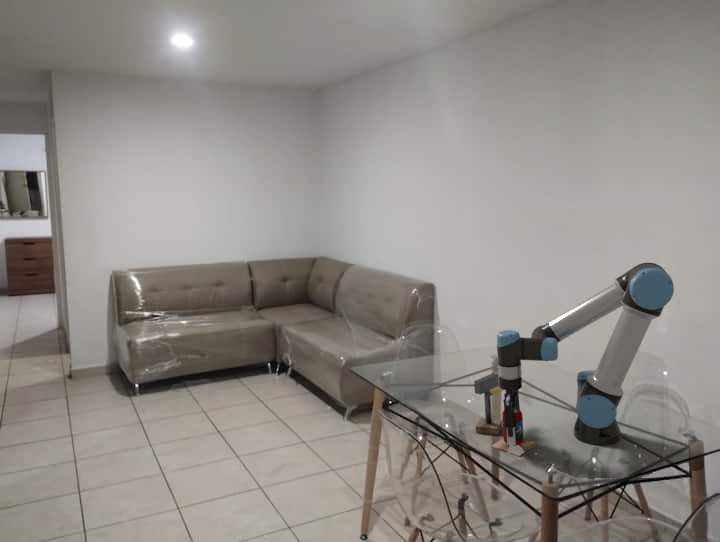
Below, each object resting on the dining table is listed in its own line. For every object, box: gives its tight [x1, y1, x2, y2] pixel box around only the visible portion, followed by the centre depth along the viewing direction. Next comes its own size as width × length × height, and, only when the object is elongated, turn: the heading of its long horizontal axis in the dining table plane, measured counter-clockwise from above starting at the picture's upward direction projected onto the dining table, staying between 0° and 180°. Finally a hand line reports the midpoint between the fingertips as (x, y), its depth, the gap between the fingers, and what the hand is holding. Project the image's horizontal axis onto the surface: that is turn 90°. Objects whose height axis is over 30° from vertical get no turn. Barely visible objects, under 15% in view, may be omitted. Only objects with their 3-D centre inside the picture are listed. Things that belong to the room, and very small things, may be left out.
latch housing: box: [475, 417, 503, 436], centre depth 215 cm, size 8×8×2 cm
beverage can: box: [501, 407, 525, 445], centre depth 199 cm, size 7×7×12 cm
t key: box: [473, 372, 505, 424], centre depth 215 cm, size 16×2×17 cm, turn 131°
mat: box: [491, 437, 538, 453], centre depth 200 cm, size 11×11×1 cm
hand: (513, 440), depth 200 cm, fingers closed on beverage can, 7 cm apart
